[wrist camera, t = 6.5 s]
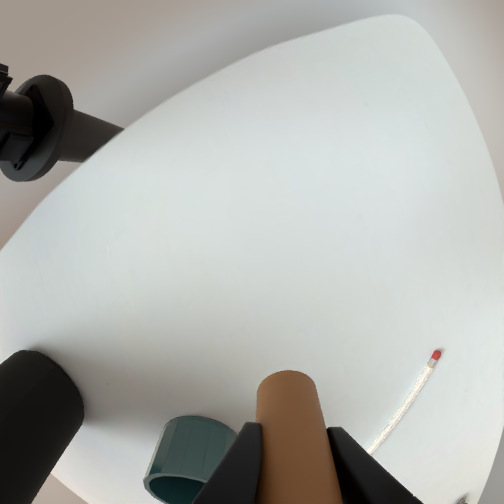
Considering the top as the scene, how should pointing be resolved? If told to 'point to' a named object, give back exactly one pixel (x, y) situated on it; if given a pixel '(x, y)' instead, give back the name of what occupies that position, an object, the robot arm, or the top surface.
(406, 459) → the top surface
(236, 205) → the top surface
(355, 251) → the top surface
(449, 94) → the top surface
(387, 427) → the pencil
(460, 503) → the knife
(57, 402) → the coffee jar
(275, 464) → the tan wooden dowel
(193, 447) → the teal cup
